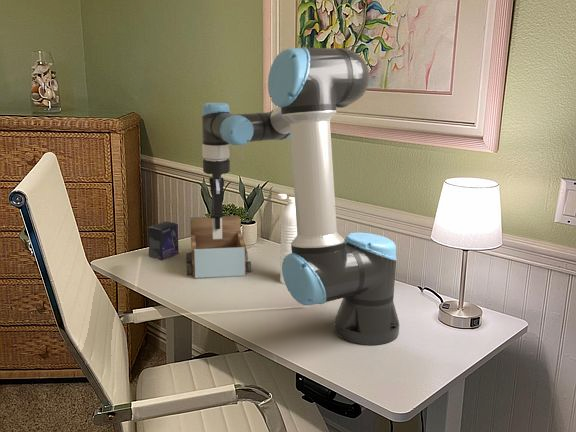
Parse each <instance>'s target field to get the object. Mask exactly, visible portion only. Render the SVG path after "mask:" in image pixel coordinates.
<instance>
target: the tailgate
mask: <svg viewBox="0 0 576 432" xmlns="http://www.w3.org/2000/svg"><path fill="white" fill-rule="evenodd" d="M194 257H195V276H194V277H193V278H194V280H198V279H199V280H201V279H218V278H220V279H221V278H241V277H246V275H247V273H246V274H245V248H244V247H236V248H213V249H194Z"/></svg>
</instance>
